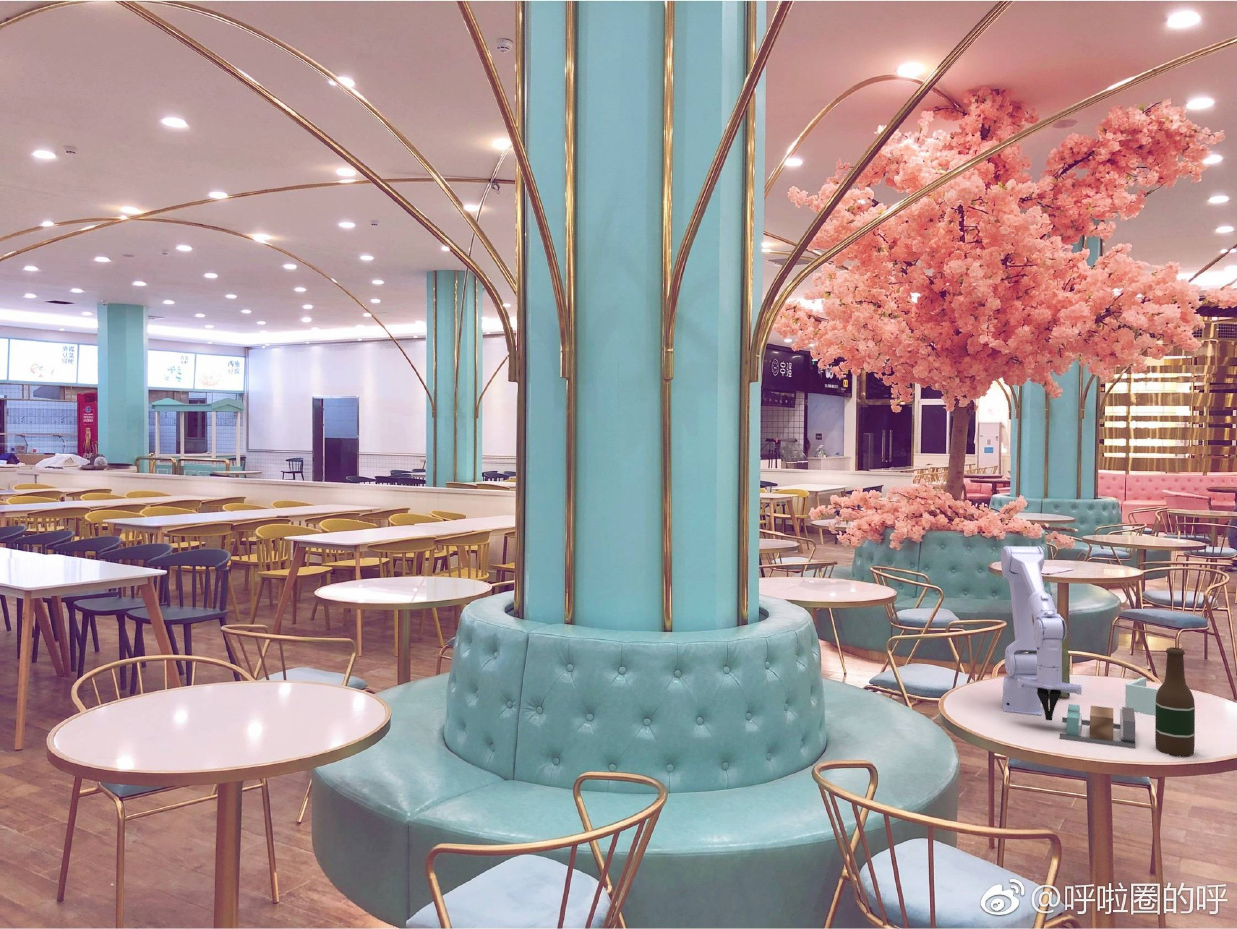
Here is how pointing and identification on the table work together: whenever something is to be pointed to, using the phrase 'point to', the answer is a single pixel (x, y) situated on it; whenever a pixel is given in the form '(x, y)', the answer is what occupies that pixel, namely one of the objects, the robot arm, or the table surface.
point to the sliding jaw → (1074, 720)
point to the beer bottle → (1175, 709)
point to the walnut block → (1101, 722)
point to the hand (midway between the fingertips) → (1048, 719)
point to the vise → (1125, 728)
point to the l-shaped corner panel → (1141, 697)
